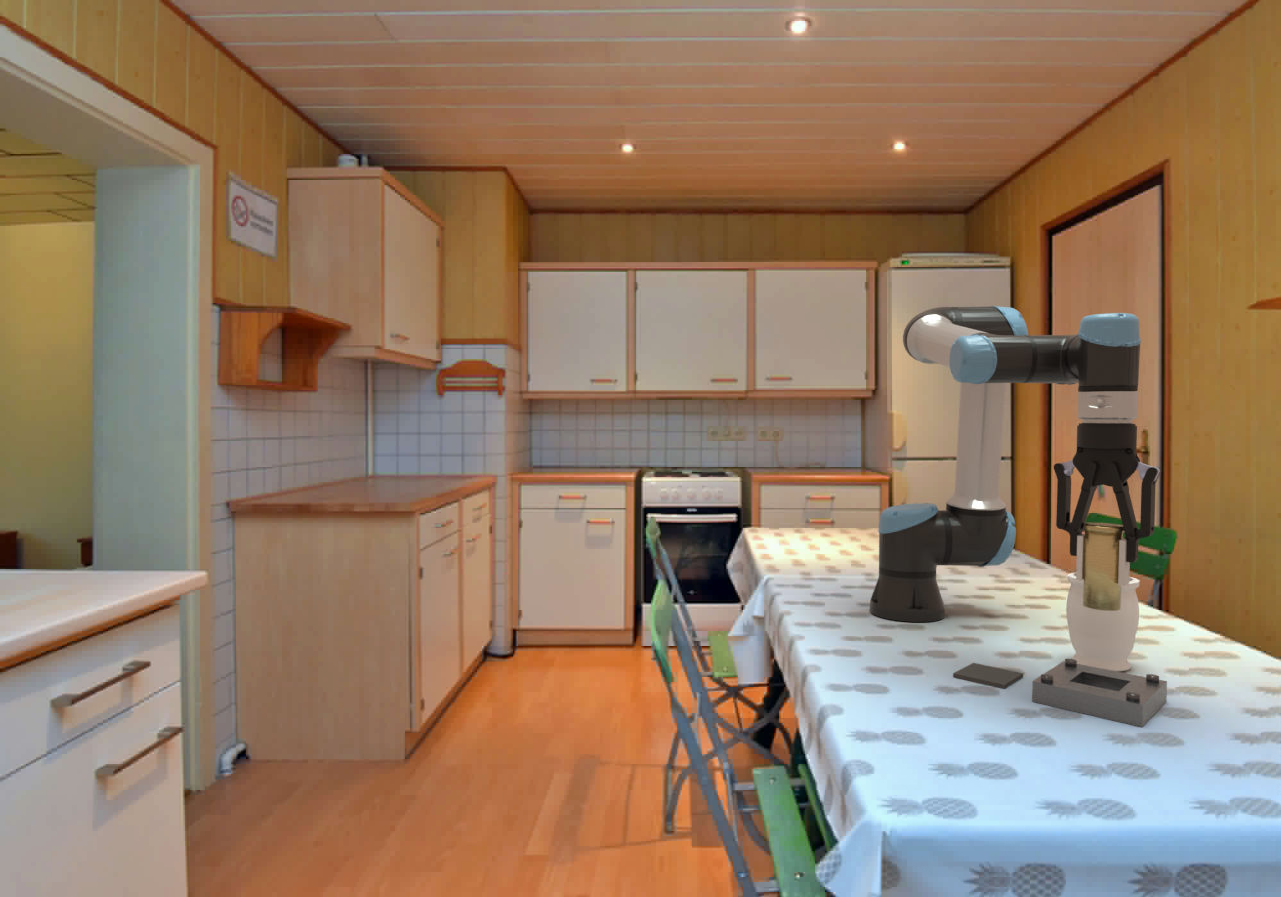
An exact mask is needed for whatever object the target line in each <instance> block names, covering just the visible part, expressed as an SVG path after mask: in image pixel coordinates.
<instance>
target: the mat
mask: <svg viewBox="0 0 1281 897" xmlns="http://www.w3.org/2000/svg"><path fill="white" fill-rule="evenodd" d="M952 677H953V678H956V679H961V680H965V681H969V682H973V683H978V684H982V685H985V686H986V685H987V686H991V687H995V688H1001V689H1003V690H1004V689H1007V688H1009V686H1012V685H1013V684H1014V683H1017V682H1018V681H1020V679H1024V672H1020V671H1014V670H1008V669H1005V668H999V667H995V666H990V665H985V664H980V663H975V662H973V663H970V664H968V665H967V666H964V667H962V668H961V669H959V670H957V671H955V672H953V673H952Z"/></svg>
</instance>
